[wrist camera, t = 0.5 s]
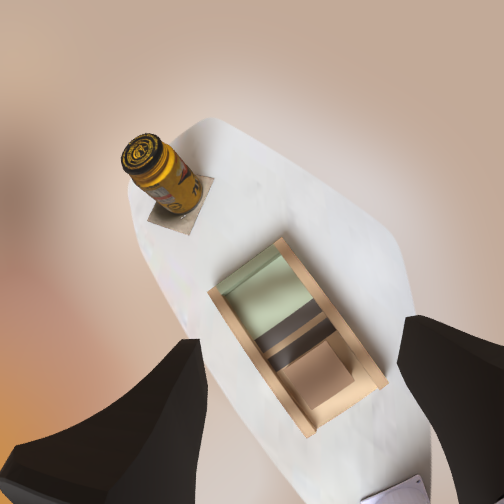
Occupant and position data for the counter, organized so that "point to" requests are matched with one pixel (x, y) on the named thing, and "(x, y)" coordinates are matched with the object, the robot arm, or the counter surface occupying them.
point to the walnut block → (319, 375)
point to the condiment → (165, 182)
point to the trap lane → (292, 331)
